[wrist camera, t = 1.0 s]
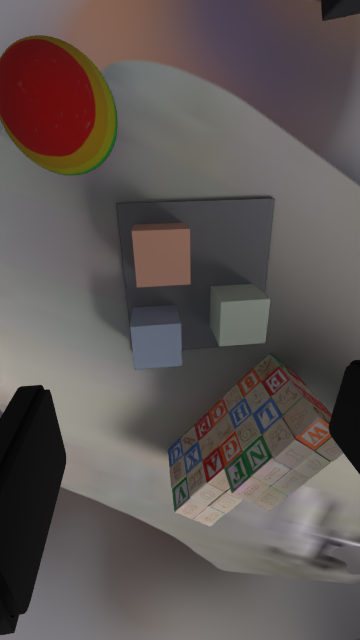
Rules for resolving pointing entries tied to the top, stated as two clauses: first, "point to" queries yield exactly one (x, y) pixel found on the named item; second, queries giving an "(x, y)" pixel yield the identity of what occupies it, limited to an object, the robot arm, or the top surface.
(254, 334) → the sage cube
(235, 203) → the charcoal mat
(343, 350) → the top surface
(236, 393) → the stack of blocks
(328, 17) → the headset box
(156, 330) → the slate-blue cube
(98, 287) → the top surface
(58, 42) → the decorative egg
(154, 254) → the terracotta cube
